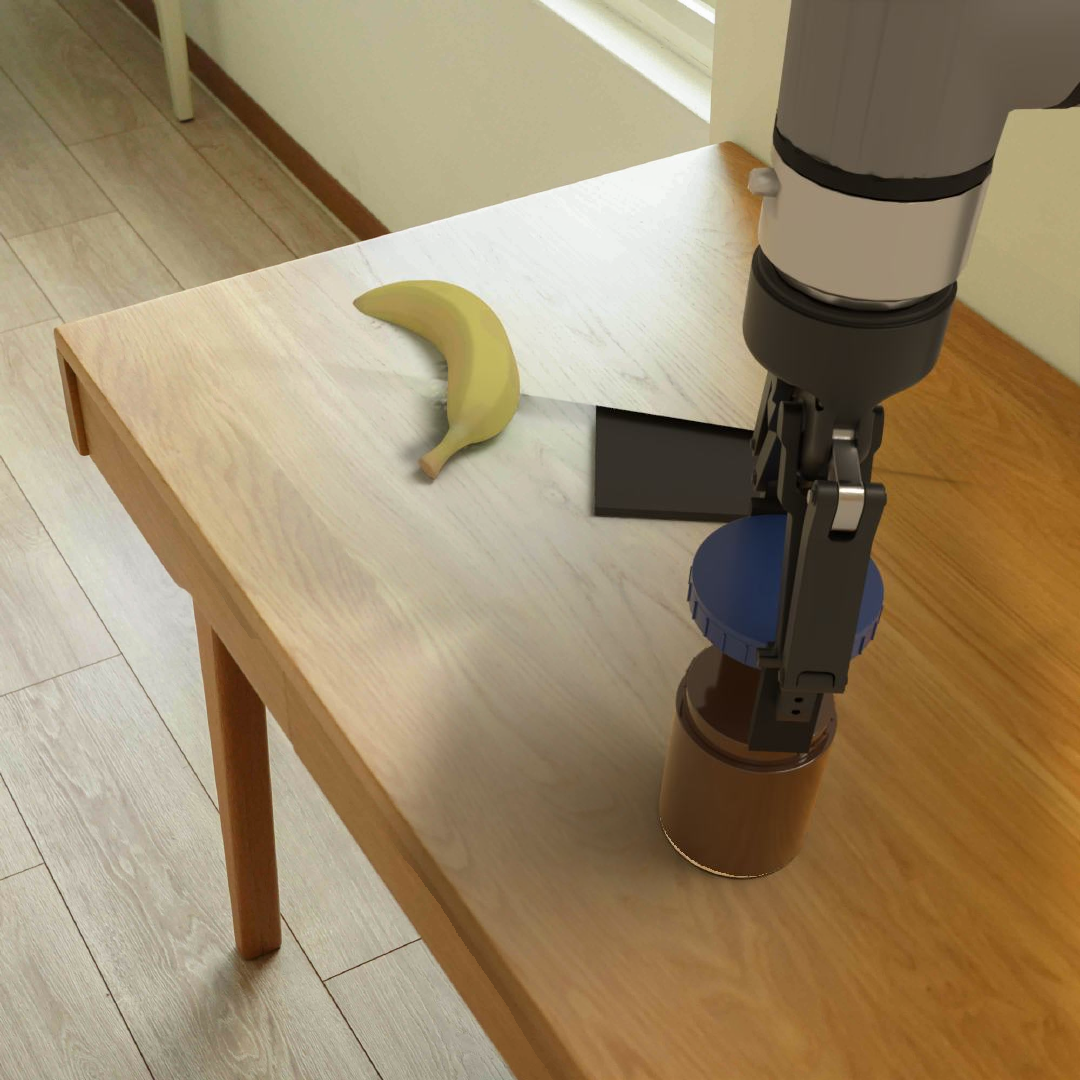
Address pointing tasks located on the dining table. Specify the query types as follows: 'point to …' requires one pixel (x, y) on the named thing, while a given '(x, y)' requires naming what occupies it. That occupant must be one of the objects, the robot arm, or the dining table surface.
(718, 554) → the jar lid
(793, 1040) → the dining table surface
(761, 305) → the robot arm
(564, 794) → the dining table surface
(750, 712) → the jar
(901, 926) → the dining table surface
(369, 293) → the banana
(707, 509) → the tray
